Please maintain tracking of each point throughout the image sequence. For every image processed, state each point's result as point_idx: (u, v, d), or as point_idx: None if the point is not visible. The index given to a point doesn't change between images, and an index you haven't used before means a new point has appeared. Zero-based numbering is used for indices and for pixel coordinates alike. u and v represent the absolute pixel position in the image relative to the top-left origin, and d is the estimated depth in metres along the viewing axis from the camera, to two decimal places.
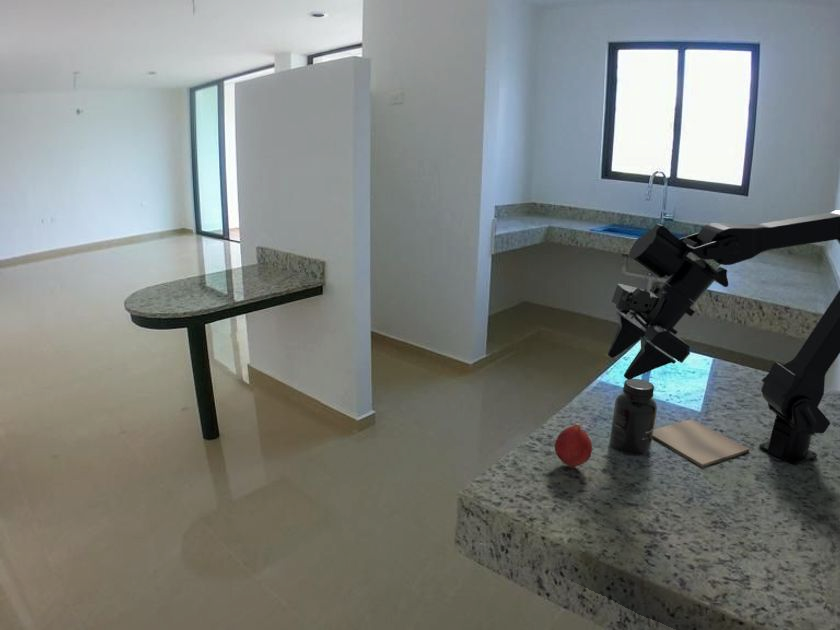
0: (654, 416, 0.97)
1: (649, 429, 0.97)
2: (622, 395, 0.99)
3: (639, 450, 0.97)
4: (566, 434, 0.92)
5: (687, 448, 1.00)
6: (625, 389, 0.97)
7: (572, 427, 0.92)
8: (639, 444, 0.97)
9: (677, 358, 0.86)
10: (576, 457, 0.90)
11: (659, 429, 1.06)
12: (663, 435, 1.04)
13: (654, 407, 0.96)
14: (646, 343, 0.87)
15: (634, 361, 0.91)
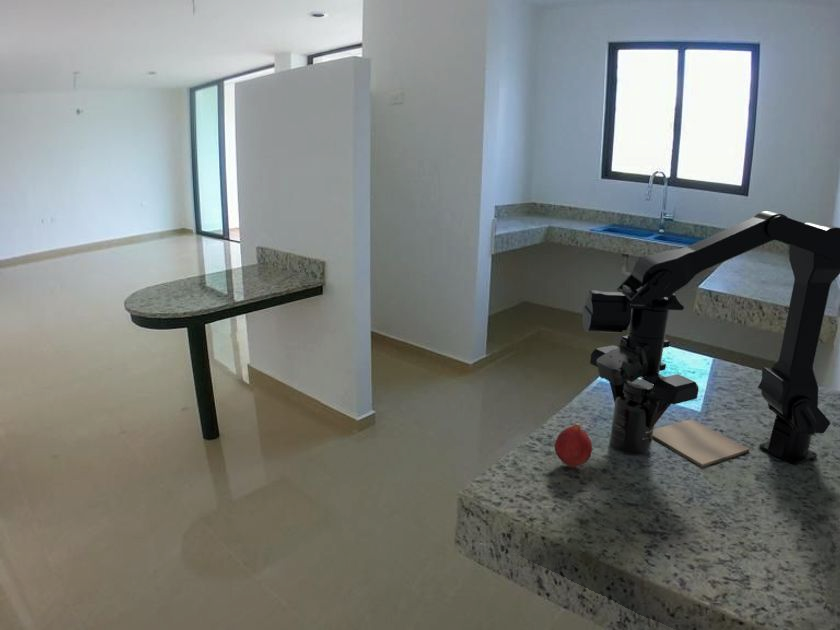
0: None
1: (649, 429, 0.97)
2: (622, 395, 0.99)
3: (639, 450, 0.97)
4: (566, 434, 0.92)
5: (687, 448, 1.00)
6: (625, 389, 0.97)
7: (572, 427, 0.92)
8: (639, 444, 0.97)
9: (693, 398, 0.90)
10: (576, 457, 0.90)
11: (659, 429, 1.06)
12: (663, 435, 1.04)
13: None
14: (658, 401, 0.90)
15: (651, 413, 0.94)
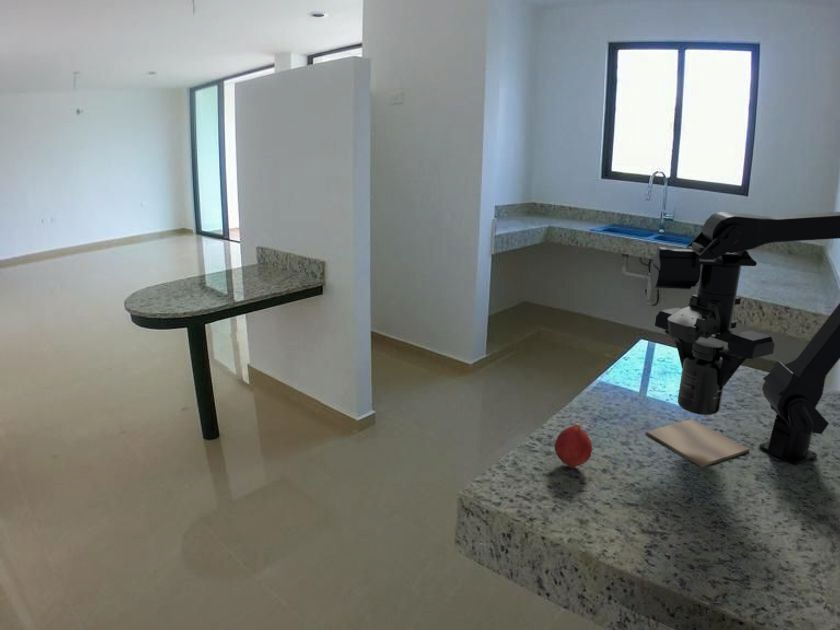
0: None
1: (720, 388, 0.96)
2: (691, 355, 0.98)
3: (710, 410, 0.97)
4: (566, 434, 0.92)
5: (687, 448, 1.00)
6: (695, 349, 0.97)
7: (572, 427, 0.92)
8: (710, 403, 0.96)
9: (769, 352, 0.89)
10: (576, 457, 0.90)
11: (659, 429, 1.06)
12: (663, 435, 1.04)
13: None
14: (734, 357, 0.90)
15: (723, 371, 0.93)
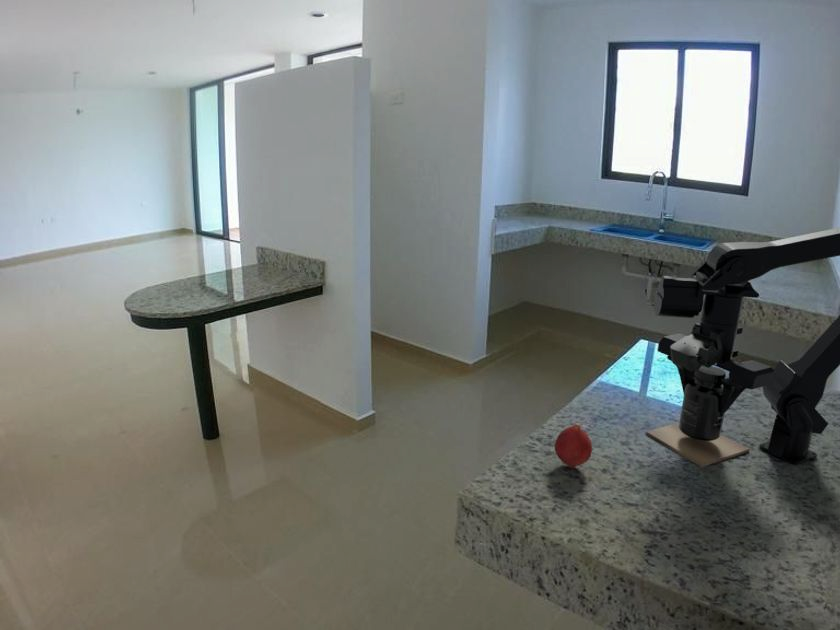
0: None
1: (721, 415, 0.98)
2: (693, 382, 1.00)
3: (711, 436, 0.98)
4: (566, 434, 0.92)
5: (687, 448, 1.00)
6: (696, 375, 0.98)
7: (572, 427, 0.92)
8: (711, 429, 0.98)
9: (770, 383, 0.91)
10: (576, 457, 0.90)
11: (659, 429, 1.06)
12: (663, 435, 1.04)
13: None
14: (734, 386, 0.91)
15: (724, 399, 0.95)
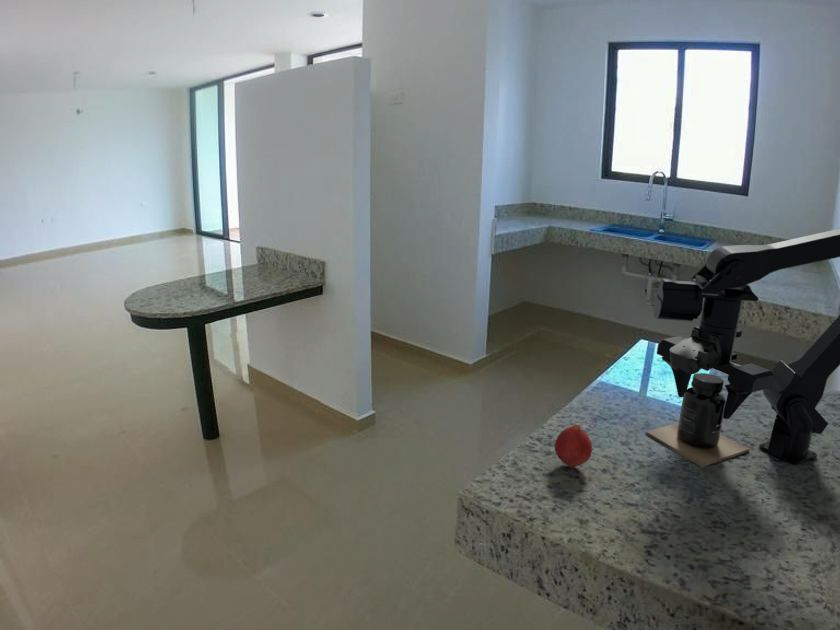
0: None
1: (719, 423, 0.98)
2: (691, 389, 1.00)
3: (709, 443, 0.99)
4: (566, 434, 0.92)
5: (687, 448, 1.00)
6: (694, 383, 0.99)
7: (572, 427, 0.92)
8: (709, 437, 0.98)
9: (769, 386, 0.91)
10: (576, 457, 0.90)
11: (659, 429, 1.06)
12: (663, 435, 1.04)
13: (724, 401, 0.98)
14: (739, 392, 0.91)
15: (728, 405, 0.95)
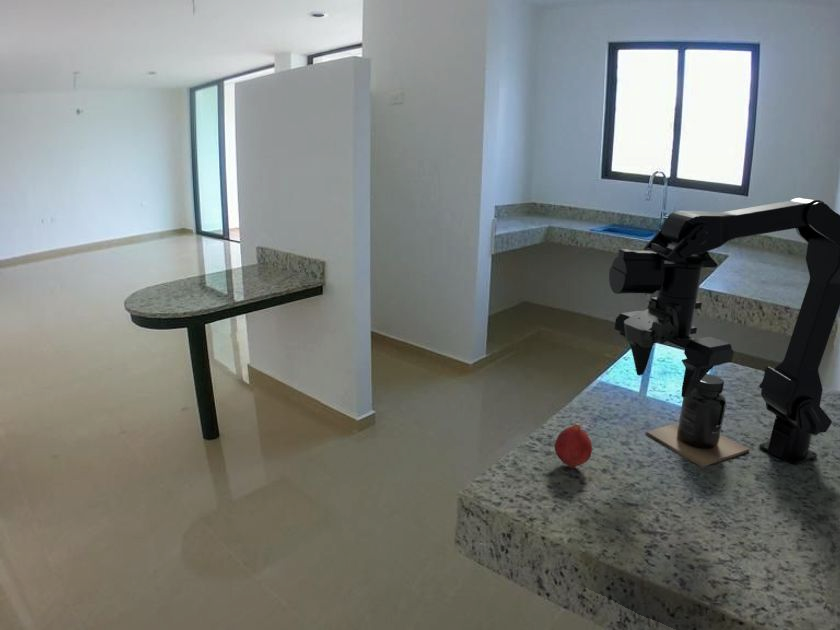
0: (724, 410, 0.98)
1: (719, 423, 0.98)
2: None
3: (709, 444, 0.99)
4: (566, 434, 0.92)
5: (687, 448, 1.00)
6: None
7: (572, 427, 0.92)
8: (708, 438, 0.98)
9: (728, 361, 0.84)
10: (576, 457, 0.90)
11: (659, 429, 1.06)
12: (663, 435, 1.04)
13: (725, 402, 0.98)
14: (696, 366, 0.84)
15: (686, 381, 0.88)
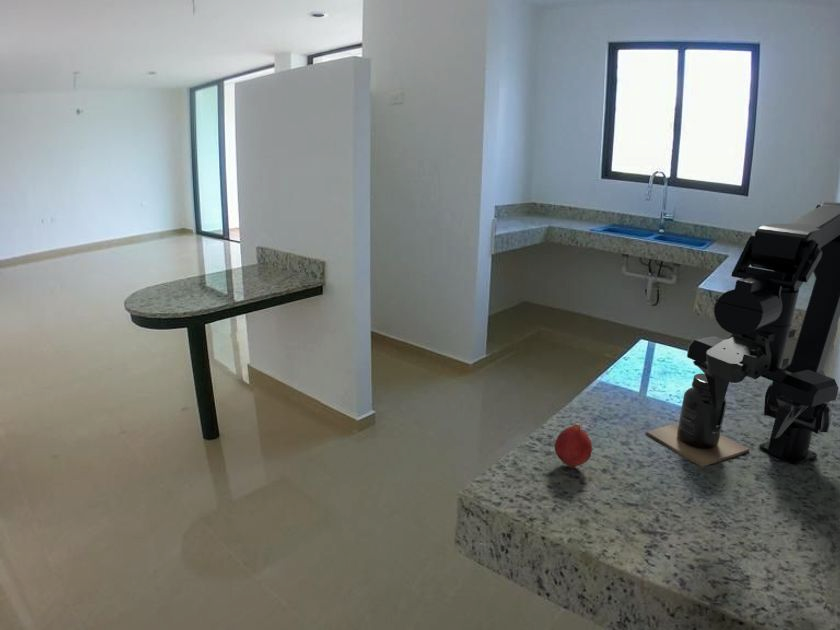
0: (724, 410, 0.98)
1: (719, 423, 0.98)
2: (691, 390, 1.00)
3: (709, 444, 0.99)
4: (566, 434, 0.92)
5: (687, 448, 1.00)
6: (695, 384, 0.99)
7: (572, 427, 0.92)
8: (708, 438, 0.98)
9: (832, 399, 0.73)
10: (576, 457, 0.90)
11: (659, 429, 1.06)
12: (663, 435, 1.04)
13: (725, 402, 0.98)
14: (795, 406, 0.73)
15: (779, 421, 0.77)
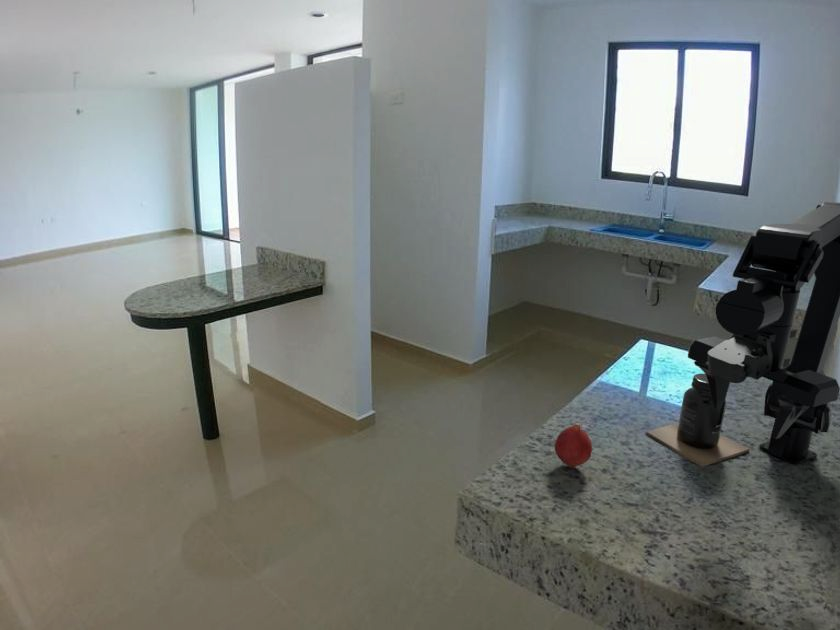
0: (724, 410, 0.98)
1: (719, 423, 0.98)
2: (691, 390, 1.00)
3: (709, 444, 0.99)
4: (566, 434, 0.92)
5: (687, 448, 1.00)
6: (695, 384, 0.99)
7: (572, 427, 0.92)
8: (708, 438, 0.98)
9: (833, 399, 0.73)
10: (576, 457, 0.90)
11: (659, 429, 1.06)
12: (663, 435, 1.04)
13: (725, 402, 0.98)
14: (797, 406, 0.73)
15: (781, 421, 0.77)
